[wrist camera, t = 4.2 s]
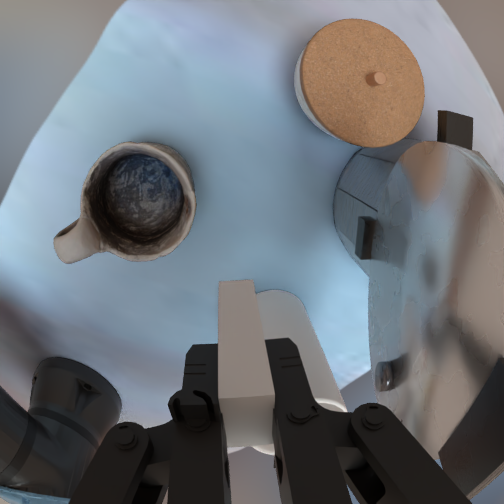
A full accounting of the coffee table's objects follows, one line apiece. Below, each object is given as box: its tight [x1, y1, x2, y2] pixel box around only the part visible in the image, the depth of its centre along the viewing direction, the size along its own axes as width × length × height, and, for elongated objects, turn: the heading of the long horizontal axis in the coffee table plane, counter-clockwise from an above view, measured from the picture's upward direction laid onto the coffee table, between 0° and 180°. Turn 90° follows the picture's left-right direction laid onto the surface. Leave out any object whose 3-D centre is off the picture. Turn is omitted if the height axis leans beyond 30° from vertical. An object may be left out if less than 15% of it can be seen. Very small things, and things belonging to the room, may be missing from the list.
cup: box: [252, 290, 347, 455], centre depth 28 cm, size 8×8×16 cm
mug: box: [53, 142, 196, 264], centre depth 24 cm, size 10×12×10 cm
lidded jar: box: [294, 19, 425, 148], centre depth 22 cm, size 11×11×9 cm
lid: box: [368, 141, 504, 500], centre depth 12 cm, size 17×15×2 cm
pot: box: [333, 110, 497, 277], centre depth 26 cm, size 16×21×10 cm
